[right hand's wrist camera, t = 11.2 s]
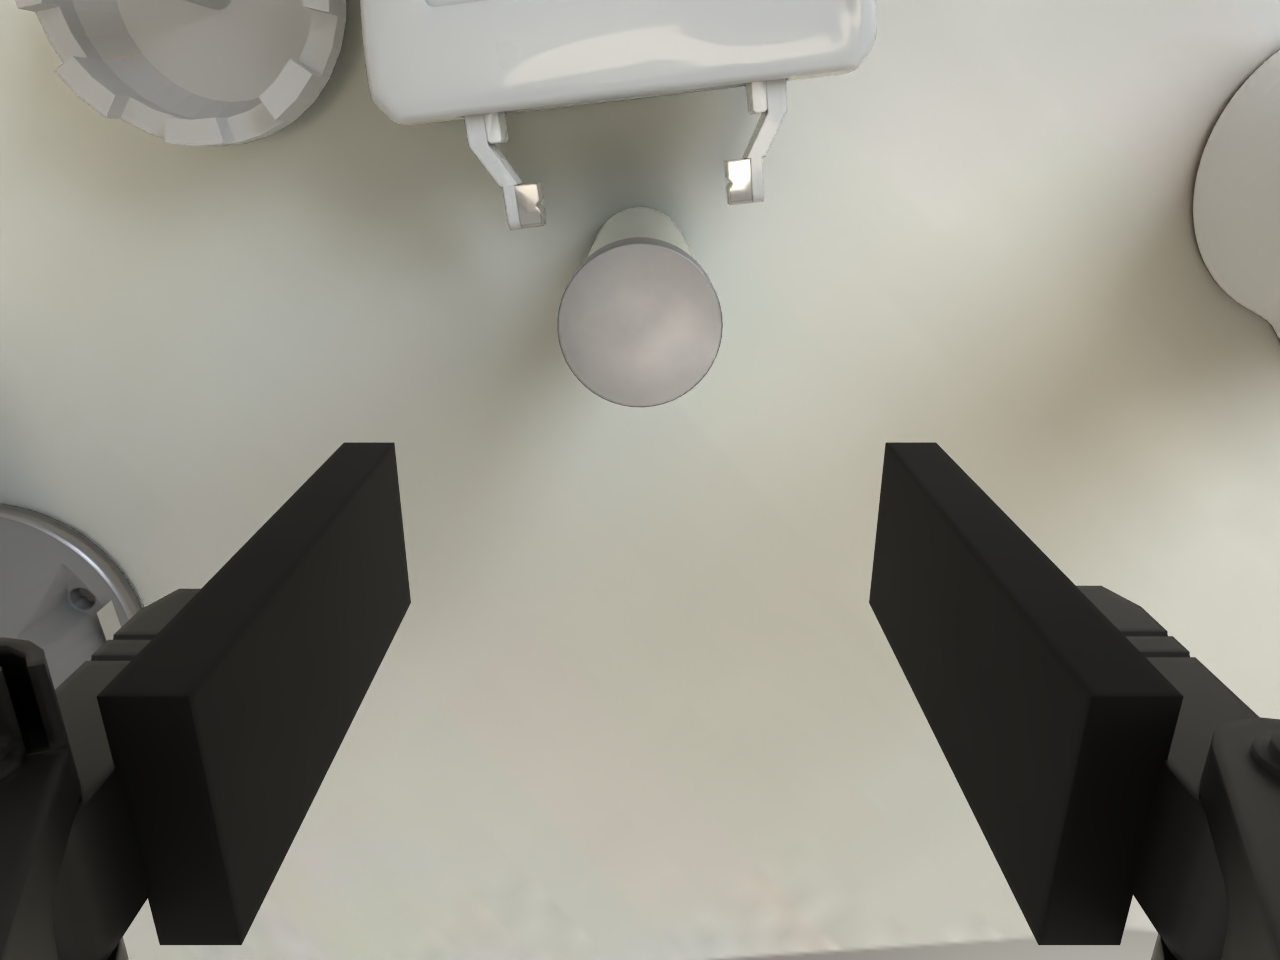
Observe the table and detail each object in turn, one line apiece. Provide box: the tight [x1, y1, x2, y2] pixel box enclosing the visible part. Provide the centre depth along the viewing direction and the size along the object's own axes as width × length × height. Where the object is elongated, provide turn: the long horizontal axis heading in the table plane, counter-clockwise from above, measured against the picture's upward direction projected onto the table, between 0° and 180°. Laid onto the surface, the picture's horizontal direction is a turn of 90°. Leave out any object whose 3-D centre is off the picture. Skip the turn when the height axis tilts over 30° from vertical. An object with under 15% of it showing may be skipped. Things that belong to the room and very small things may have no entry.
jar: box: [587, 207, 693, 258], centre depth 37 cm, size 5×5×18 cm
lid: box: [558, 237, 723, 407], centre depth 29 cm, size 5×5×2 cm
